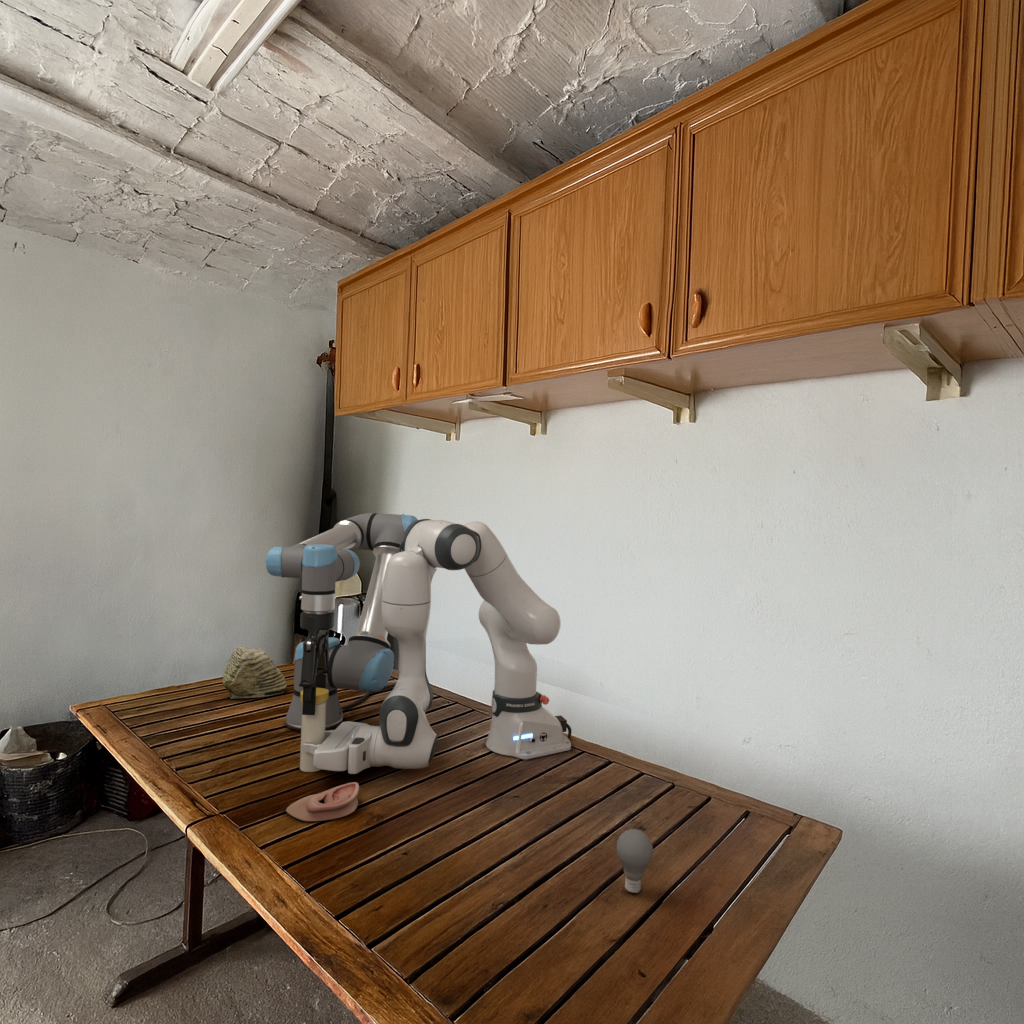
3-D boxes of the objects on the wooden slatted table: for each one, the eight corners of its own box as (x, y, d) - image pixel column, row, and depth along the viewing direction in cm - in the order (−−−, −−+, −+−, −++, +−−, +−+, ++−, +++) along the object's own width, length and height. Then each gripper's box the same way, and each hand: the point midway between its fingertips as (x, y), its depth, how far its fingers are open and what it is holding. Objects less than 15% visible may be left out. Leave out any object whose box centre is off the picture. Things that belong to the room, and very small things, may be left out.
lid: (301, 704, 144) (302, 696, 144) (298, 696, 149) (299, 688, 149) (330, 702, 146) (330, 694, 146) (326, 694, 152) (326, 686, 152)
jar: (301, 773, 144) (303, 700, 144) (298, 764, 149) (300, 693, 149) (325, 770, 147) (328, 697, 146) (321, 760, 152) (324, 690, 151)
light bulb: (610, 879, 108) (613, 822, 108) (644, 879, 109) (647, 822, 109) (619, 902, 102) (622, 840, 102) (655, 901, 103) (658, 840, 103)
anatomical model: (278, 797, 124) (308, 772, 135) (277, 817, 124) (307, 791, 136) (340, 806, 122) (366, 781, 133) (339, 827, 122) (365, 799, 133)
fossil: (218, 695, 195) (220, 647, 195) (278, 685, 208) (279, 640, 207) (228, 703, 189) (230, 653, 188) (289, 692, 201) (290, 645, 201)
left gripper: (313, 603, 158) (310, 693, 158) (287, 619, 137) (283, 723, 137) (344, 604, 158) (340, 694, 158) (322, 620, 137) (318, 724, 137)
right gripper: (380, 716, 157) (325, 713, 158) (353, 748, 137) (291, 744, 138) (378, 742, 157) (324, 738, 158) (352, 777, 137) (290, 773, 138)
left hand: (314, 707), depth 148 cm, fingers open, 8 cm apart
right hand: (308, 741), depth 148 cm, fingers closed on jar, 5 cm apart
